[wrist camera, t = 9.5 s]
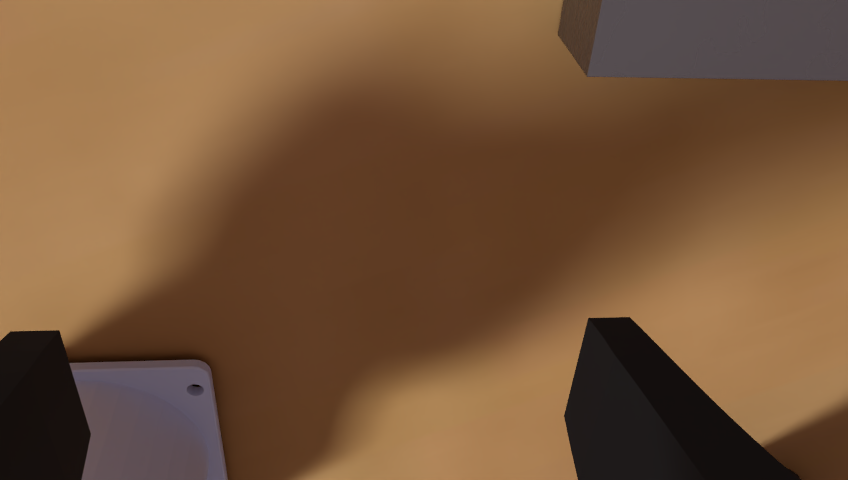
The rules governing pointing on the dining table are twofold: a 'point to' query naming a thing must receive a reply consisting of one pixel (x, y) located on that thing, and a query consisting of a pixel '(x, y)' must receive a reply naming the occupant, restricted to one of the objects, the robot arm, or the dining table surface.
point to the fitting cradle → (708, 38)
